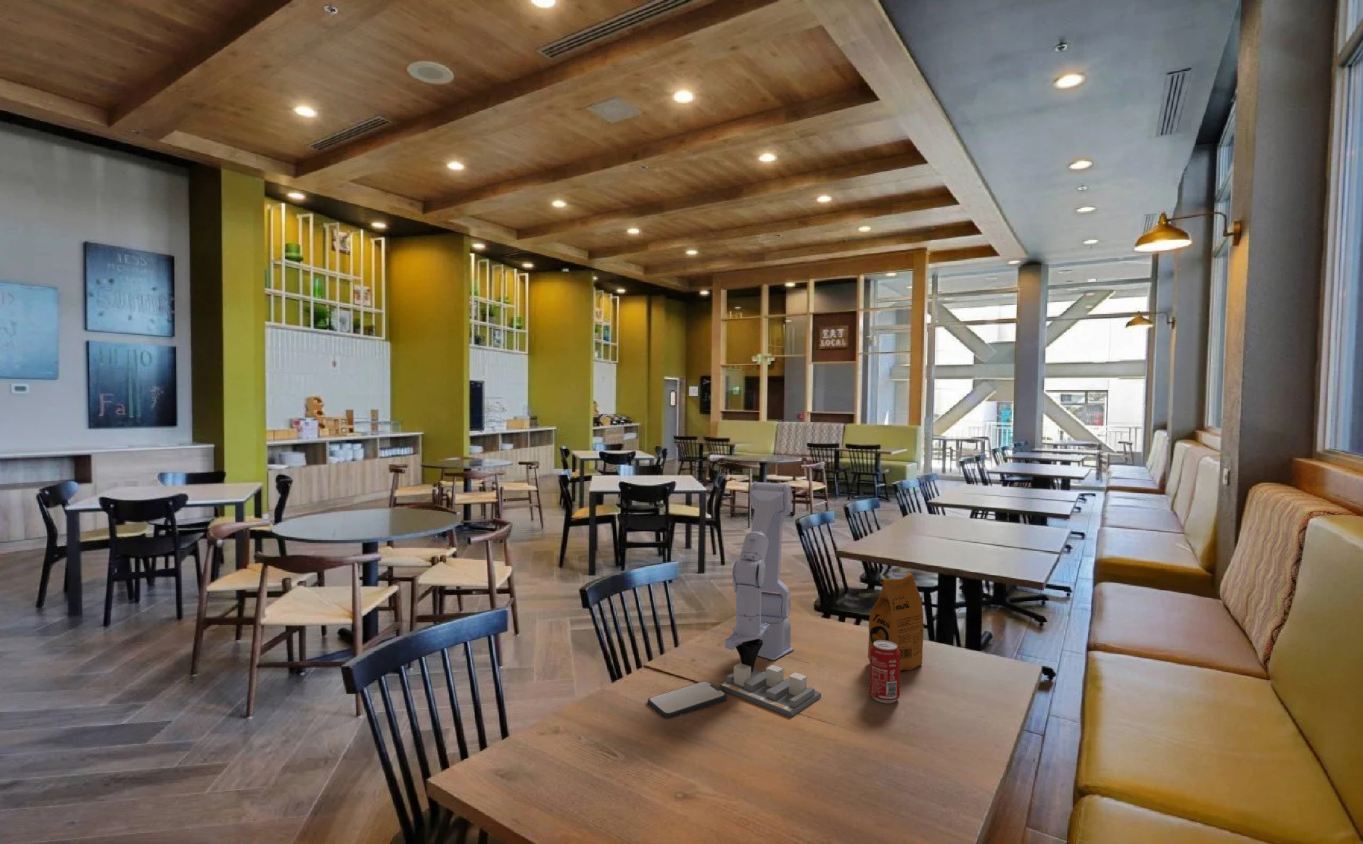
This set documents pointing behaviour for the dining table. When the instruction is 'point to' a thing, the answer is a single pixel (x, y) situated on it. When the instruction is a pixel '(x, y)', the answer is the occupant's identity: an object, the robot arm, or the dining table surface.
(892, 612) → the coffee package
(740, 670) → the tab
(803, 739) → the dining table surface
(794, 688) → the tab
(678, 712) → the smartphone
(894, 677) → the beverage can
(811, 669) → the dining table surface
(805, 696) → the switch board
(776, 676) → the white rectangular block
